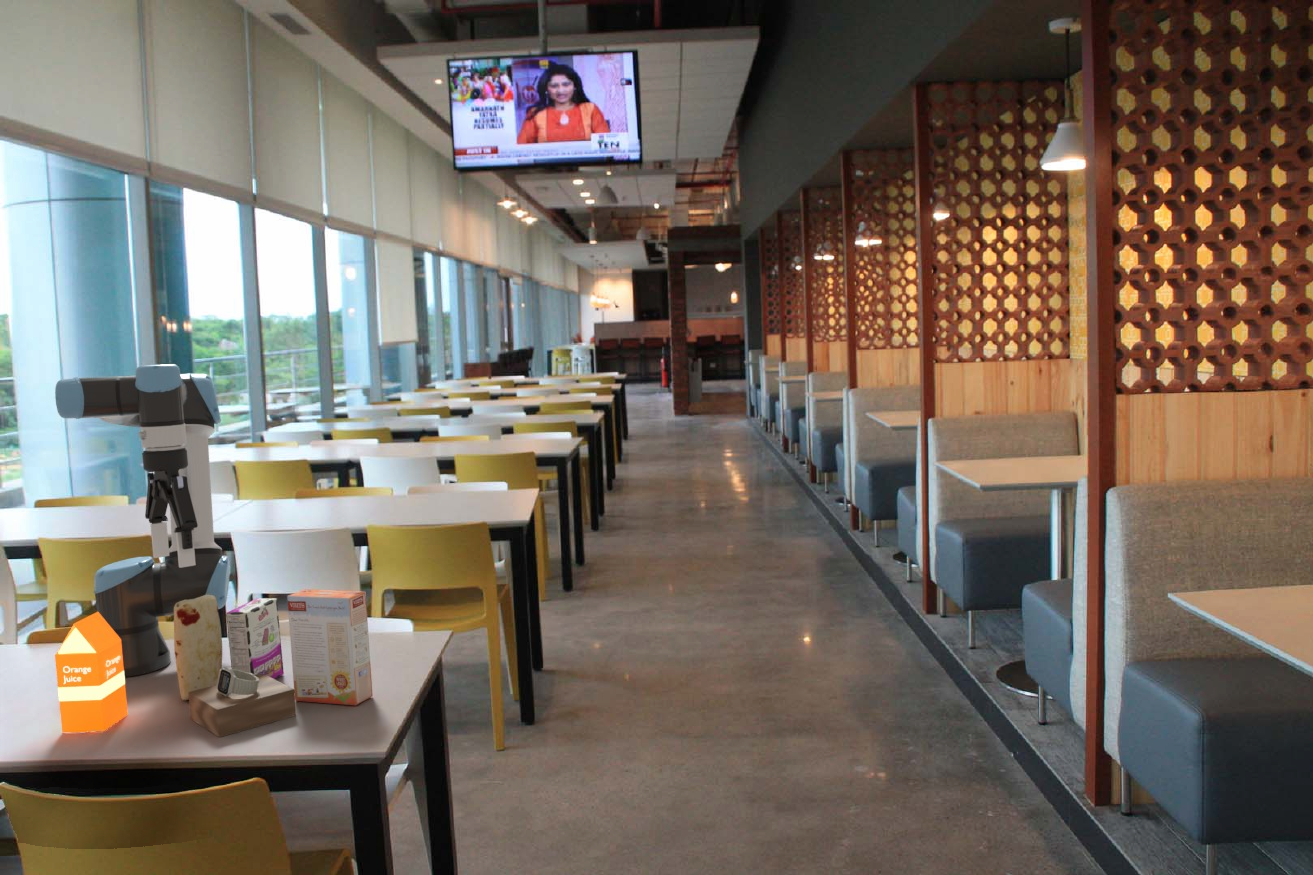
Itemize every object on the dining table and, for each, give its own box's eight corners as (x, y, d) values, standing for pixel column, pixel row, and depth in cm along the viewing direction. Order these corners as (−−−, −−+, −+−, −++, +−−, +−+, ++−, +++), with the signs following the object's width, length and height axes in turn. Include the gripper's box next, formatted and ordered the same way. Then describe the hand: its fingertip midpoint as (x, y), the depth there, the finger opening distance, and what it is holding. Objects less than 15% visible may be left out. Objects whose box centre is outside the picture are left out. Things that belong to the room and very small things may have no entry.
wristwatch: (209, 691, 194) (207, 665, 193) (241, 682, 199) (239, 656, 198) (236, 700, 188) (234, 673, 188) (268, 690, 193) (266, 664, 192)
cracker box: (374, 696, 203) (367, 590, 201) (355, 707, 197) (348, 597, 195) (313, 691, 207) (306, 587, 205) (293, 701, 202) (285, 594, 200)
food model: (193, 706, 201) (185, 603, 199) (169, 702, 204) (160, 601, 202) (234, 690, 210) (226, 591, 208) (210, 686, 213) (202, 589, 211)
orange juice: (61, 733, 189) (50, 625, 187) (87, 716, 198) (77, 612, 196) (104, 731, 189) (94, 623, 187) (129, 714, 198) (119, 610, 196)
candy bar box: (262, 674, 219) (256, 597, 218) (284, 675, 218) (278, 597, 217) (231, 692, 208) (224, 611, 207) (254, 693, 207) (247, 611, 206)
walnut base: (190, 718, 194) (188, 692, 194) (264, 698, 204) (262, 673, 203) (219, 737, 184) (217, 709, 184) (296, 715, 194) (294, 688, 193)
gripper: (121, 446, 200) (130, 556, 203) (166, 454, 182) (177, 574, 184) (162, 443, 206) (171, 549, 208) (210, 449, 187) (220, 566, 190)
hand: (174, 561), depth 196 cm, fingers open, 13 cm apart
